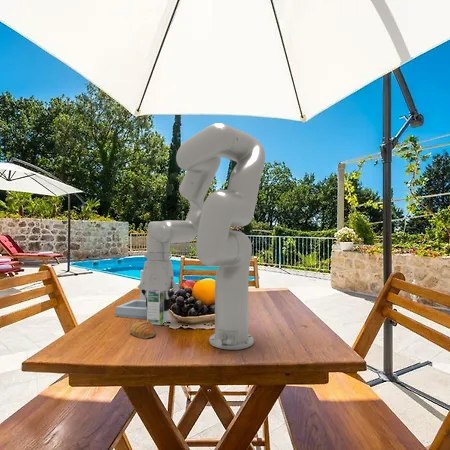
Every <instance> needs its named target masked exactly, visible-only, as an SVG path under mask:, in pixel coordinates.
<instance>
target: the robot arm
mask: <svg viewBox="0 0 450 450" xmlns="http://www.w3.org/2000/svg"><path fill="white" fill-rule="evenodd" d="M221 158H223V159H227V160H229V161H234V162H236V165H235V166H234V168H233V170H232V171H231V172H230V176H229V180H228V186H227V189H226V190H225V189H218V190H215V191H213V192H211V193H210V194H209V195H208V196H207V197H206V194H207V193H208V191H209V188H210V187H211V184H212V182H213V181H214V178H215V176H216V174H217V172H218V169H219V167H220V165H221V162H222V160H221ZM175 160H176V164H177V166H178V167H179V168H180V169H182V170H184V171H185V174H184V176H183V178H182V181H181V183H180V185H179V186H178V187H179V188H178V191H179V193H180V195H181V196H182V197H183V198H185V200H187V201H188V202H189V211H188V214H187V216H186V218H185V220H180V219H179V220H178V219H177V220H176V219H174V220H171V219H169V220H168V219H167V220H162V221H161V220H160V221H156V220H155V221H150V222H149V223H148V224H147V252H146V253H144V255H143V256H144V258H146V260H145V261H144V265H143V269H142V270H143V277H142V282H141V283H139V284H138V285H137V288H138V290H139V292H140V291H141V292H142V293H143V295H144V296H145V298H146V307H147V290H157V291H164V295H165V299H164V311H168V310H169V311H170V309H171V306H172V305H171V302H172V300H171V298H173V297H174V296H175V294H176V293H178V291H180V289H181V288H180V286H179V285H178V284H177V283H176V282H175V281H174V280H175V278H174V268H173V263H172V261H171V258H170V257H171V253H170V252H171V251H170V250H171V248H170V247H171V244H182V243H191V242H193V241H194V240H195V239H196V243H195V251H196V256H197V258H198V261H199V262H200V263H201V264H203V265H204V266H206V267H212V268H213V267H217V269H216V273H215V280H214V333H213V334H211V335H210V336H209V339H208V342H209V344H210V345H211V346H212V347H215V348H217V349H222V350H230V351H235V350H244V349H248V348H250V347H252V346H253V345H254V343H255V341H254V336H253V335H251V334H250V333H249V285H250V284H249V281H250V280H249V275H250V266H251V265H250V264H251V259H252V253H253V249H252V248H253V246H252V245H253V244H252V241H251V239H250V238H249V237H248V235H247V234H245V233H244V232H241V231H239V230H230V229H231V227H236V228H237V227H245V226H248V225H249V224H250V223H251V222H252V221H253V218H254V215H255V210H256V205H257V200H258V194H259V189H260V184H261V178H262V175H263V171H264V168H265V164H266V162H265V161H266V152H265V147H264V146H263V144H262V143H261V142H260V141H259V140H258V139H257V138H255V137H254V136H253V135H250V134H249V133H247V132H245V131H242V130H240V129H237V128H235V127H233V126H230V125H228V124H225V123H221V122H215V123H213V124H210V125H208V126H207V127H205V128H203V129H201V130H200V131H198V132H197V133H195V134H193V135H192V136H190V137H189V138H188V139H187V140H185V141H184V142H183V143H182V144H180V147H179V148H178V150H177V152H176V155H175ZM205 197H206V199H205ZM204 200H205V201H204Z"/></svg>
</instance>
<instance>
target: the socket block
mask: <svg viewBox="0 0 450 450" xmlns="http://www.w3.org/2000/svg"><path fill="white" fill-rule="evenodd" d="M114 316H119V317H118V318H127V317H128V318H129V319H138V318H139V319H138V320H147V307H146V300H140V299H132V300H129V301H128V302H124V303H123V304H119V305H116V306H115V315H114ZM128 318H127V319H128Z"/></svg>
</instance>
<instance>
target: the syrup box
mask: <svg viewBox="0 0 450 450" xmlns="http://www.w3.org/2000/svg"><path fill="white" fill-rule="evenodd" d="M164 299H165V295H164V291H157V290H147V319H146V321H149V322H151V323H152V324H153V325H157V326H164V324H165V323H164V322H165V321H167V320H168V319H169V317H170V316H169V315H170V313H169V312H170V309H169V310H168V311H164ZM169 320H170V319H169ZM167 322H168V321H167ZM163 323H164V324H163Z"/></svg>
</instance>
